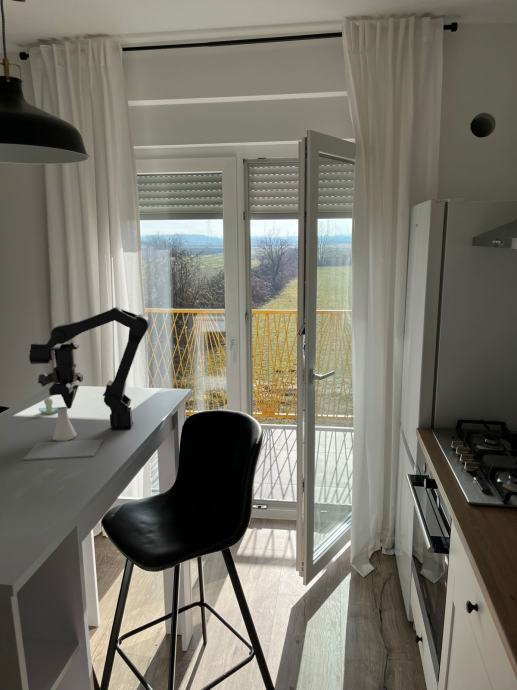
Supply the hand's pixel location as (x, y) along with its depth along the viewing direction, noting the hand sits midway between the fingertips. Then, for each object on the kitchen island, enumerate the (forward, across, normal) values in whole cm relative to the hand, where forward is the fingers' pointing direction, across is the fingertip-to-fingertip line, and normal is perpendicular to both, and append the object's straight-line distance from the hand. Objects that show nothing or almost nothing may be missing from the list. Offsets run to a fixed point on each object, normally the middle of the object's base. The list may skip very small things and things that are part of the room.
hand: (69, 408), depth 178 cm
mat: (+8, +18, +3) cm, 20 cm away
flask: (+8, +8, 0) cm, 11 cm away
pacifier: (+8, -21, -13) cm, 26 cm away
